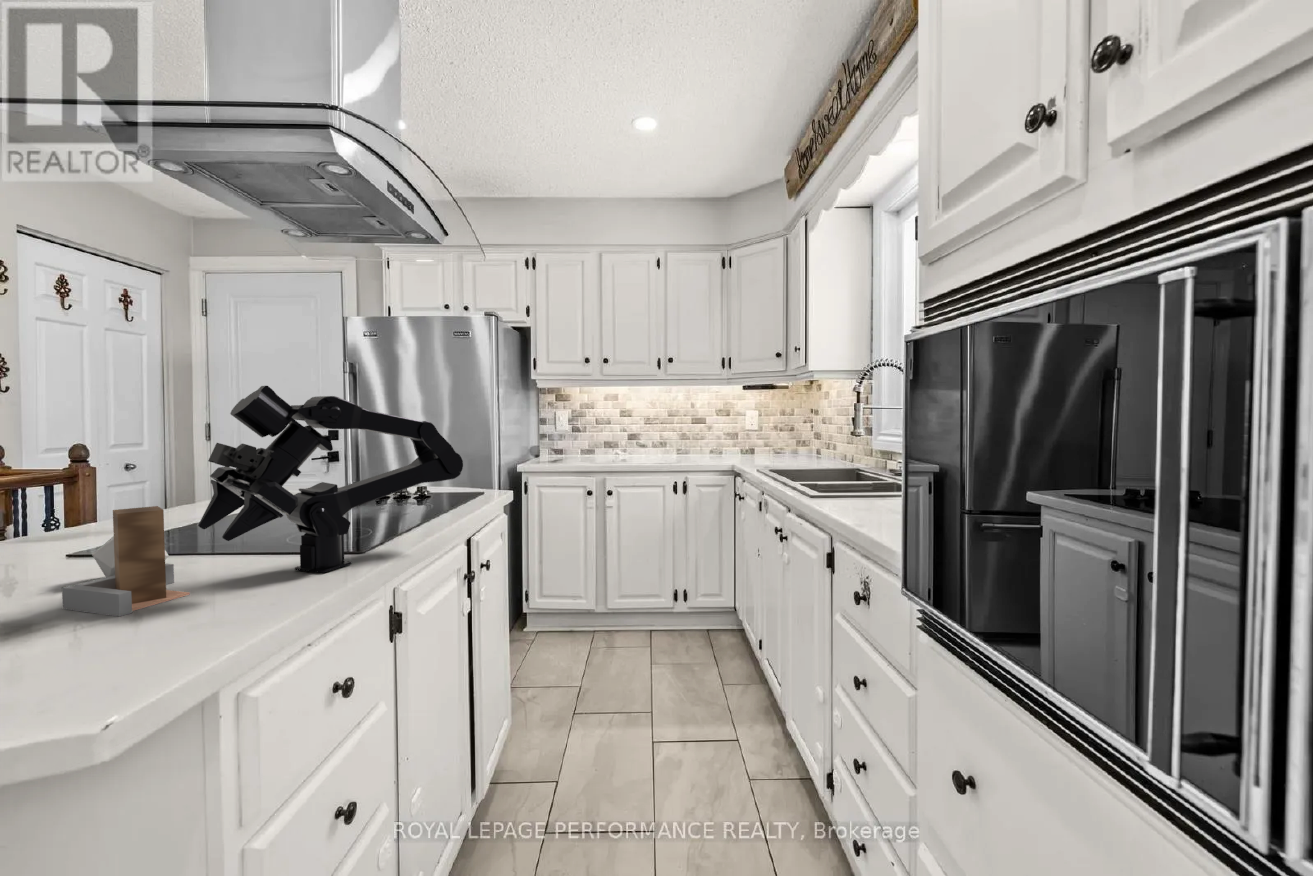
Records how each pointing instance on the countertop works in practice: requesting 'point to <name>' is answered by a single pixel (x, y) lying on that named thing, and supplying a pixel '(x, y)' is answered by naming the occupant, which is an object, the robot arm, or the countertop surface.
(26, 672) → the countertop surface
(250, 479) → the robot arm
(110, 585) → the corner bracket
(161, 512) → the walnut block
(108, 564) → the die
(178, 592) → the pad
